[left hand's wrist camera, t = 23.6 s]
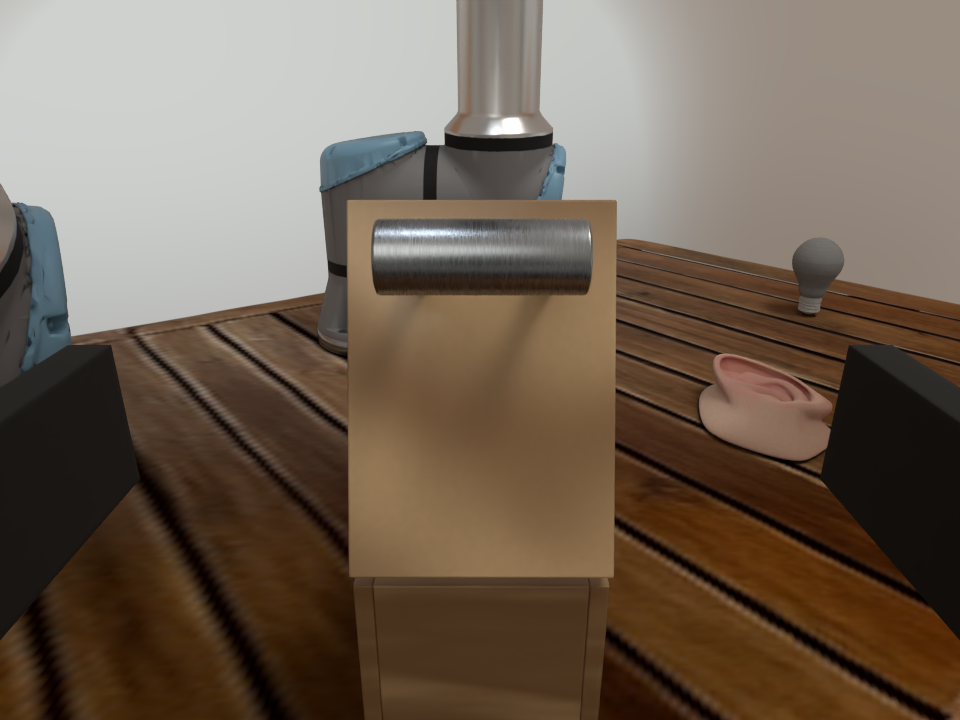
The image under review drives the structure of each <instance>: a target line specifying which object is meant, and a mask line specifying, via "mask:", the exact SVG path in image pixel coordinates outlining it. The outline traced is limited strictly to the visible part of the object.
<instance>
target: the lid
mask: <svg viewBox="0 0 960 720" xmlns="http://www.w3.org/2000/svg"><path fill="white" fill-rule="evenodd" d="M616 229H617V202H616V200H347V348H348V505H349V577H351V578H613V577H614V490H615V360H616Z"/></svg>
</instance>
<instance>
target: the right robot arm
mask: <svg viewBox="0 0 960 720" xmlns="http://www.w3.org/2000/svg"><path fill="white" fill-rule="evenodd" d="M542 15H543V0H457V59H458V60H457V61H458V112H457V114H456V115H455V117H454V118H453V119H452V120H451V121H450V122H449V123H448V125H447V126H446V127H445V130H444V131H445V145H425V144H426V143H427V139H426V138H425V135H424V133H423V132H421V131H414V132H406V133H405V132H403V133H395V134H387V135H380V136H373V137H367V138H361V139H355V140H349V141H344V142H339V143H335V144H332V145H330V146H328V147H327V148H326V149H325V150H324V151H323V152H322V154H321V158H320V172H321V186H320V189H319V190H320V192H321V196H322V207H323V217H324V228H325V240H326V250H327V260H328V273H329V278H328V283H327V287H326V291H325V295H324V299H323V303H322V307H321V312H320V316H319V320H318V325H317V330H318V340H319V343H320V345H321V346H322V347H323V348H325V349H326V350H328V351H331V352H333V353H336V354H340V355H344V356H348V348H347V200H561V199H562V192H563V185H564V172H565V165H566V152H565V149H564V148H563V146H560V145H558V144H557V143H555V144H554V145H552V140H553V128H552V126H551V125H550V124H549V123H548V122H547V121H546V120H545V118H544V117H543V116H542V115H541V113H540V111H539V105H540V76H541V45H542Z"/></svg>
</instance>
